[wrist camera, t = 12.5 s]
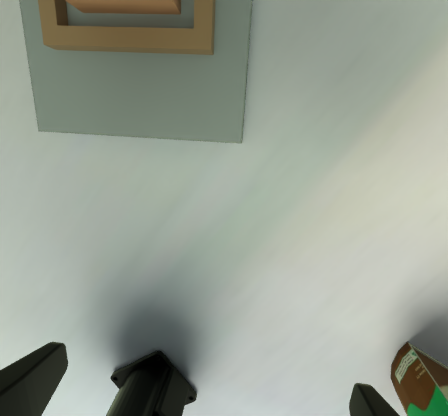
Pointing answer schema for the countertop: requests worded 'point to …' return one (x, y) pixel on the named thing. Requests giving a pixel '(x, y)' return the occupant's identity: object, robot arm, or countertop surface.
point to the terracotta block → (128, 6)
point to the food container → (420, 382)
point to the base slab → (140, 70)
